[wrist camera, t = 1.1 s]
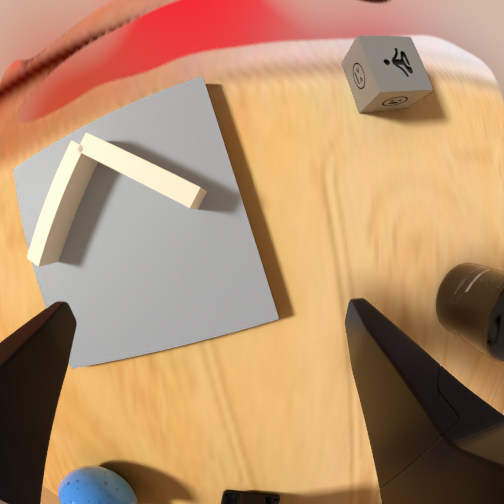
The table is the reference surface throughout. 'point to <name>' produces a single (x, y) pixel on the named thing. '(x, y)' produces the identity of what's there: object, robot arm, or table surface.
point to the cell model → (95, 487)
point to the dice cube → (385, 73)
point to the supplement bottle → (474, 307)
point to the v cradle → (143, 229)
